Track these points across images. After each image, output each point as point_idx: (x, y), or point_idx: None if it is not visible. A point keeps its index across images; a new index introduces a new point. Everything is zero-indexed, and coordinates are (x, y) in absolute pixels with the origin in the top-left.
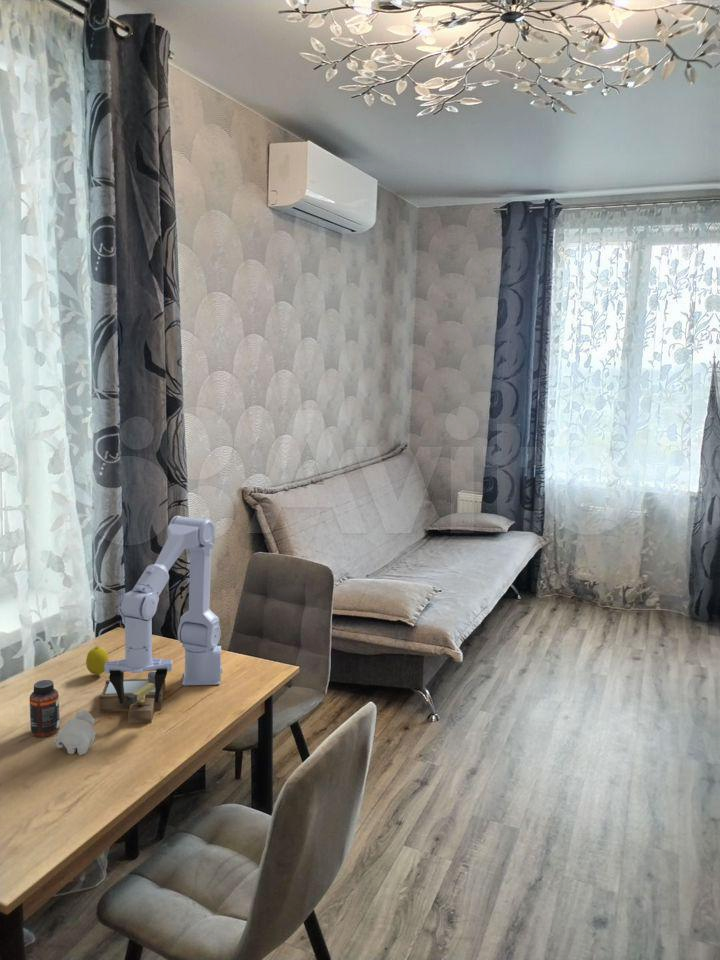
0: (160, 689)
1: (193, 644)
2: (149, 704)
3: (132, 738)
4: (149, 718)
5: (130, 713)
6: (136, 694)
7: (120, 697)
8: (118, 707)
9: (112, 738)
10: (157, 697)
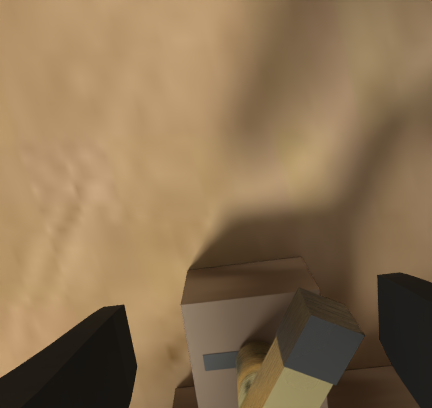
0: (7, 373)
1: None
2: (210, 369)
3: (243, 102)
4: (195, 279)
5: (304, 283)
6: (291, 377)
7: (425, 289)
8: (388, 381)
9: (353, 97)
10: (84, 322)
